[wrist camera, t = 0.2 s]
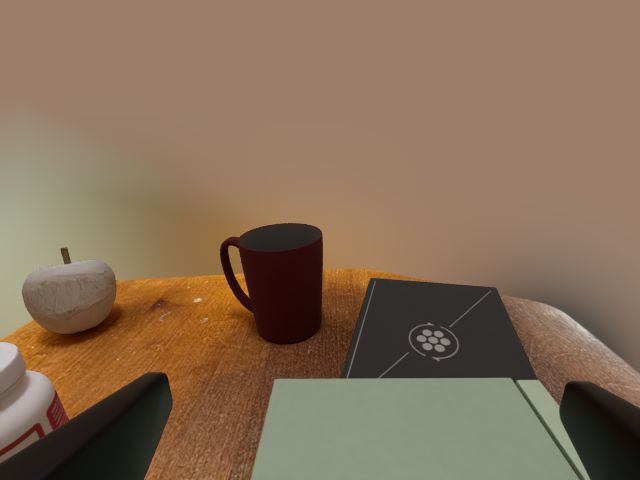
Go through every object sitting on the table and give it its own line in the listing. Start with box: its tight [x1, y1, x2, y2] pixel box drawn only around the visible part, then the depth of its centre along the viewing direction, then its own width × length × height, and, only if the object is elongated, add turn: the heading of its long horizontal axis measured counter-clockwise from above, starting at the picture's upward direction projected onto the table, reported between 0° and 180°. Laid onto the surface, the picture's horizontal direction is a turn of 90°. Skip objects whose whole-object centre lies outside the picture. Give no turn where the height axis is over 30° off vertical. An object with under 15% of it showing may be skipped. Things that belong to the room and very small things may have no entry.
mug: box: [220, 223, 323, 343], centre depth 37 cm, size 12×9×11 cm
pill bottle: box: [0, 342, 69, 463], centre depth 19 cm, size 6×6×11 cm
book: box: [340, 278, 537, 385], centre depth 30 cm, size 22×15×3 cm
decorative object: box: [22, 247, 116, 334], centre depth 38 cm, size 9×9×10 cm
